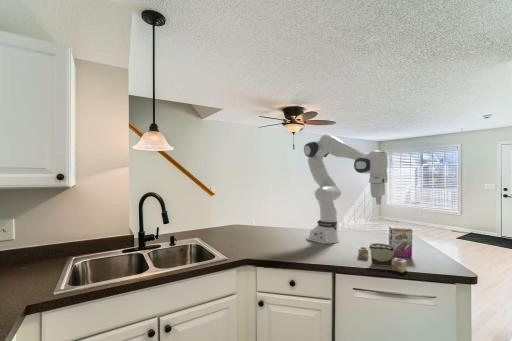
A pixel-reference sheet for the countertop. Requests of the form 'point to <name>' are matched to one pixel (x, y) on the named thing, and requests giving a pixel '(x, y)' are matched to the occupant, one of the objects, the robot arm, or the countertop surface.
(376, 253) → the food container
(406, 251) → the candy bar box
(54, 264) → the countertop surface
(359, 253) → the labelled block
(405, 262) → the labelled block
